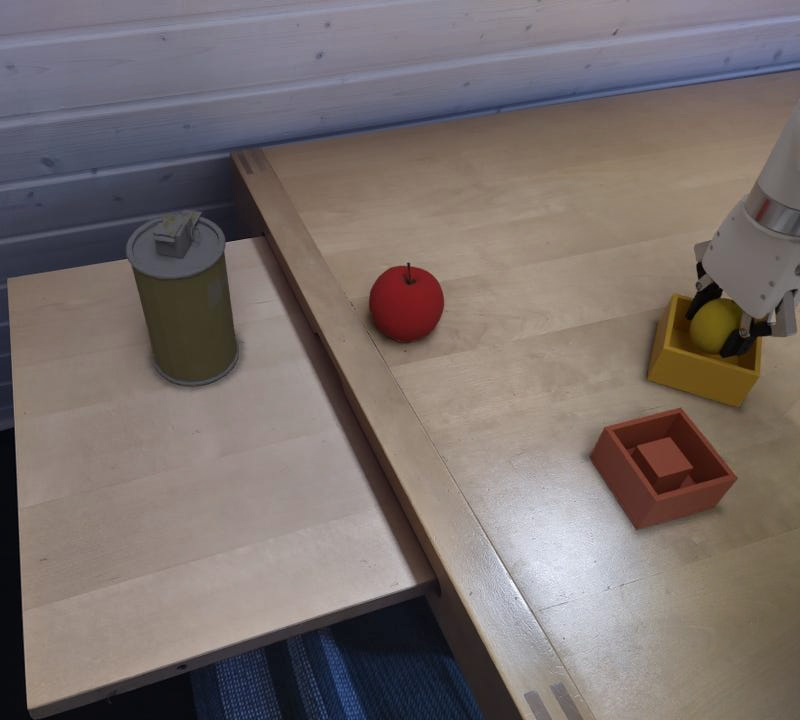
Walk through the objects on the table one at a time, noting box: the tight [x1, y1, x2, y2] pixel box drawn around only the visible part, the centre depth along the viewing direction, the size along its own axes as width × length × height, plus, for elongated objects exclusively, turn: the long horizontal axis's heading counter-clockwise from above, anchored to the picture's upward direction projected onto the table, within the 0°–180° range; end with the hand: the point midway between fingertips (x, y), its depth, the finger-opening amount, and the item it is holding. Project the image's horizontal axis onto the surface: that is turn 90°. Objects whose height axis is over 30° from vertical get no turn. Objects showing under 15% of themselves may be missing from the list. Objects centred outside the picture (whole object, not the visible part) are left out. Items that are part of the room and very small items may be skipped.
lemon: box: [690, 297, 743, 354], centre depth 82 cm, size 6×6×8 cm
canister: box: [125, 209, 240, 387], centre depth 81 cm, size 11×10×20 cm
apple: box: [368, 262, 445, 343], centre depth 87 cm, size 9×9×10 cm
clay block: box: [631, 437, 693, 495], centre depth 74 cm, size 4×4×4 cm
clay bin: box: [589, 406, 739, 531], centre depth 73 cm, size 9×9×6 cm
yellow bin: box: [646, 292, 763, 408], centre depth 85 cm, size 10×10×6 cm
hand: (714, 333), depth 83 cm, fingers closed on lemon, 5 cm apart
